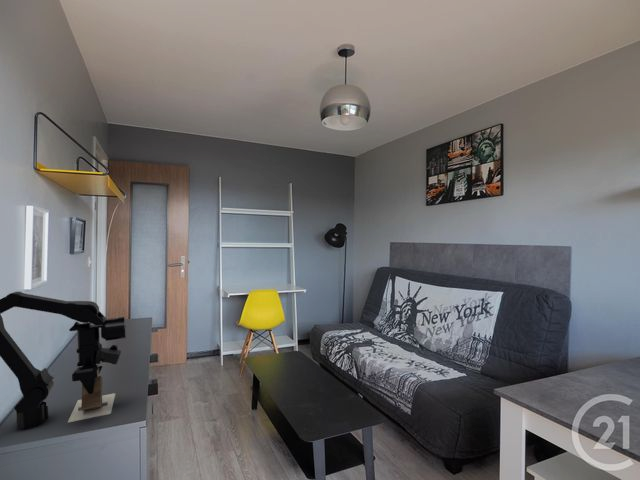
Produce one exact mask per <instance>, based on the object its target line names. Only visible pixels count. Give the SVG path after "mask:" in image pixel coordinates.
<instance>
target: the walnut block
mask: <svg viewBox="0 0 640 480" xmlns="http://www.w3.org/2000/svg"><path fill="white" fill-rule="evenodd" d="M102 396H103V376H101V375H100V376H99V375H98V377H96V380H95V385H94V391H93V393H92V394H88V392H87V391H86V389H85V387H84V386H83V384H82V383H81V399H82V405H81V410H88V409H93V408H98V407H102Z"/></svg>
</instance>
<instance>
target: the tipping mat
mask: <svg viewBox="0 0 640 480" xmlns="http://www.w3.org/2000/svg"><path fill="white" fill-rule="evenodd" d="M115 398H116V392H115V393H110V394H109V393H108V394H105V395H103V394H102V407H98V408H93V409H88V410H81V405H82V398H81V399H78V400H77V401H76V403H75V406H74V407H73V410H72V412H71V414H70V417H69V418H68V421H67V423H73V422H76V421H82V420H87V419H91V418H96V417H97V418H98V417H102V416H107V415H111V413H112V410H113V406H114V405H113V404H114V401H115Z"/></svg>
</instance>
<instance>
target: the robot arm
mask: <svg viewBox="0 0 640 480" xmlns="http://www.w3.org/2000/svg"><path fill="white" fill-rule="evenodd" d="M13 308H22V309H27V310H32V311H39V312H45V313H51V314H57V315H61V316H64V317H66V318H69V319H71V320H73V321H75V322H74V323H73V325H72V326H71V327H70V328H69V329H68V330H69V332H76V334H77V349H76V354H78V356H77V357H78V362H77V363H76V369H75V370H74V371H73V372H72V374H71V381H72V382H80V383H81V385H82V384H83V386H84V387H85V389H86V391H87V392H88V394H92V393H93V391H94V385H95V380H96V377H98V376H99V374H100V373H101V371H102V369H103V366H102V365H100V364H101V362H102V363H106V364H107V363H108V364H112V365H117V364H118V362H119V360H120V356H121V353H122V351H121V349H119V348H118V344H117V345H116V344H112V345H111V346H109V347H106V348H105V347H103V344H102V343H101V342H100V336H101V339H103V340H105V341H113V340H123V339H126V338H127V325H126V319H125V316H119V317H115V318H107V317H106V316H105V315H104V314H103V313H102V312H101V311H100V307H99V305H98V304H97V303H96V302H95V301H91V300H89V301H88V300H72V301H71V300H63V299H56V298H52V297H46V296H40V295H34V294H30V293H24V292H22V291H14V292H11V293H8V294H7V295H6V296H4V297H2V298H0V358H1V359H2V360H3V362H4V363H5V364H6V366H7V367H8V368H9V369H10V371H11V372H12V373H13V375H15V377H16V378H17V380H18V385H19V389H20V392H21V395H22V397H21V399H19V401H18V402H17V403H16V405H15V406H14V410H15V412H16V429H18V430H22V431H26V430H29V429H33V428H36V427H38V426H41V425H42V424H43V423H45V421H47V420H49V406H48V405H47V402H46V401H45V400H46V399H47V398H48V396H49V394H50V393H51V392H52V390H53V388H54V381H53V380H54V378H55V377H54V376H52V375H51V374H50V373H49V370H48V369H47V368H46V367H44V368H43V369H42V370H40V369H38V368H36V367H35V366H34V364H33V363H32V362H31V361H30V359H29V358H28V357H27V356H26V355H25V353H24V352H23V351H22V349H21V348H20V347H19V345H18V344H17V343H16V341H15V340H14V339H13V338H12V337H13V336H11V335H10V334H9V332H8V331H7V330H6V327H5V325H4V319H3V317H2V315H1V314H3V313H5V312H7V311H8V310H11V309H13ZM100 334H101V335H100Z"/></svg>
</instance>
